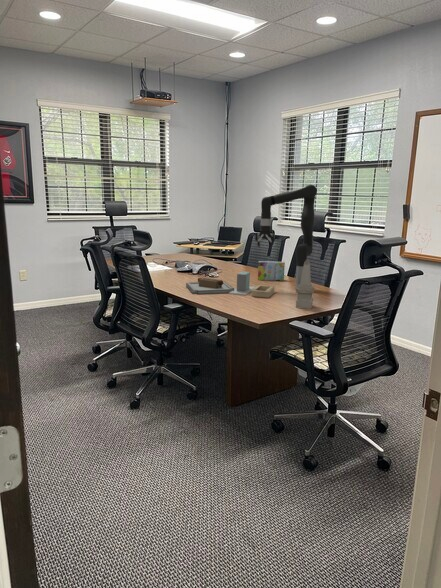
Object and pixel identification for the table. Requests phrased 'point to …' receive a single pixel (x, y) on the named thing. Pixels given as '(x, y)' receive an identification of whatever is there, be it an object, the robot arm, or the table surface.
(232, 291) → the mat
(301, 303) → the miniature monument
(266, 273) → the snack box
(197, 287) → the gray tray
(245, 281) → the box
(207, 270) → the table surface
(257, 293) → the carton
